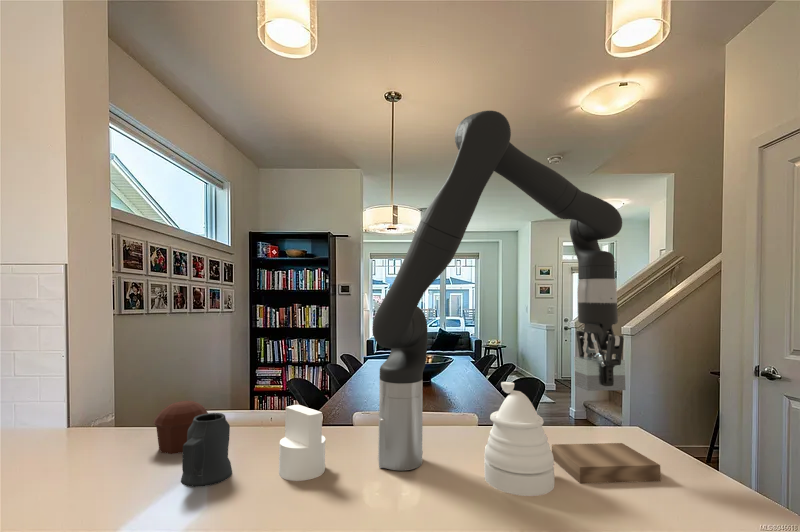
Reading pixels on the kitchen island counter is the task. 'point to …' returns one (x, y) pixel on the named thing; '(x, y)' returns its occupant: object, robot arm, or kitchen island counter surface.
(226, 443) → the mug
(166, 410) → the muffin
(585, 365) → the block
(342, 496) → the kitchen island counter surface
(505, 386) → the honey pot
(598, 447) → the walnut stand
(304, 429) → the base with upright slab
